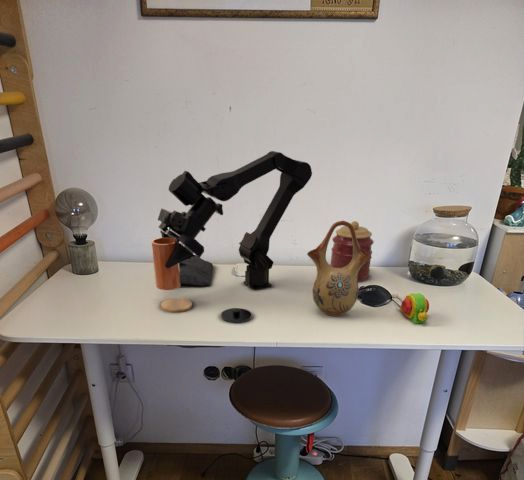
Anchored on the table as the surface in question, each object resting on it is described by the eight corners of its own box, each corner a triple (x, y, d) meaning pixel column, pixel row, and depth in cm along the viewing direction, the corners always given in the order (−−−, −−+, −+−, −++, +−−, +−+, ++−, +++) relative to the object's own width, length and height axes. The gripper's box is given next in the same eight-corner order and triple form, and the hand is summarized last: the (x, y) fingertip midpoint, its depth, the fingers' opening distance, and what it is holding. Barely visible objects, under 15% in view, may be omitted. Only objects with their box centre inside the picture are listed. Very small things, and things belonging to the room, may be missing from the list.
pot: (172, 279, 133) (168, 236, 127) (185, 286, 128) (182, 241, 122) (151, 285, 129) (146, 240, 123) (164, 292, 125) (160, 246, 118)
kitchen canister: (375, 281, 150) (383, 225, 141) (337, 283, 147) (343, 227, 138) (359, 268, 161) (365, 216, 152) (323, 270, 158) (328, 217, 149)
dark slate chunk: (160, 287, 140) (158, 272, 138) (168, 264, 159) (167, 250, 157) (211, 287, 141) (211, 272, 139) (213, 264, 160) (213, 250, 158)
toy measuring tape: (411, 327, 120) (416, 303, 117) (382, 298, 137) (386, 276, 134) (434, 326, 121) (439, 302, 118) (403, 297, 138) (407, 276, 135)
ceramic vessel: (302, 318, 123) (309, 223, 111) (303, 305, 131) (309, 215, 119) (365, 322, 122) (379, 226, 110) (361, 308, 130) (374, 217, 118)
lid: (241, 308, 128) (241, 302, 128) (257, 319, 123) (257, 312, 122) (215, 314, 125) (215, 307, 124) (230, 325, 119) (230, 319, 118)
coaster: (184, 298, 134) (184, 296, 133) (197, 308, 128) (196, 306, 127) (156, 303, 130) (156, 301, 129) (168, 314, 124) (167, 312, 123)
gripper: (162, 190, 126) (127, 236, 126) (190, 204, 112) (150, 255, 112) (191, 217, 133) (157, 260, 134) (220, 232, 119) (183, 280, 120)
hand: (161, 263), depth 125 cm, fingers closed on pot, 7 cm apart
